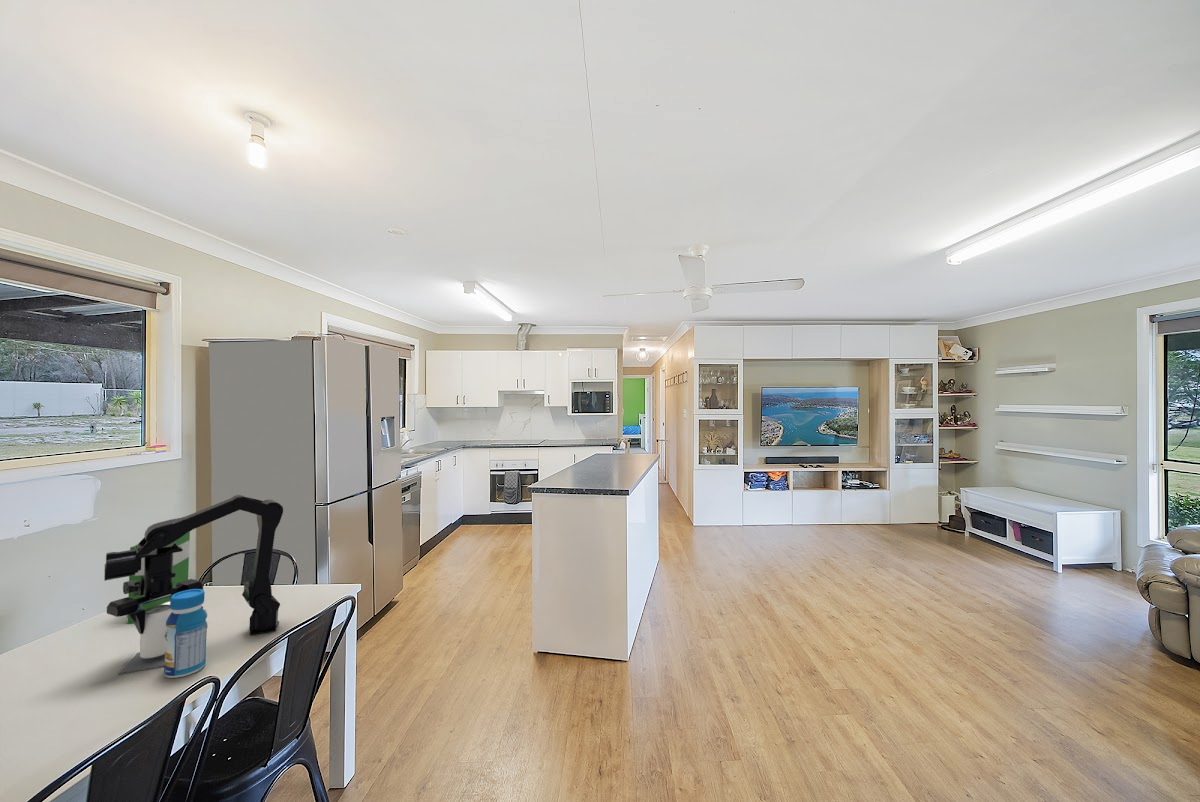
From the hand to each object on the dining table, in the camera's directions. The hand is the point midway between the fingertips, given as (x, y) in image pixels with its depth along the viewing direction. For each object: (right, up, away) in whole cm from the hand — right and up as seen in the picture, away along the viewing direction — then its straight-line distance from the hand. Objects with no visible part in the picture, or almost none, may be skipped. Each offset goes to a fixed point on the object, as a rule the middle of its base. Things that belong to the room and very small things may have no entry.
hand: (157, 628), depth 127 cm
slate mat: (0, -8, 0) cm, 8 cm away
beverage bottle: (+12, -9, -5) cm, 16 cm away
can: (0, -7, 0) cm, 7 cm away
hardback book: (-27, -9, +29) cm, 40 cm away
